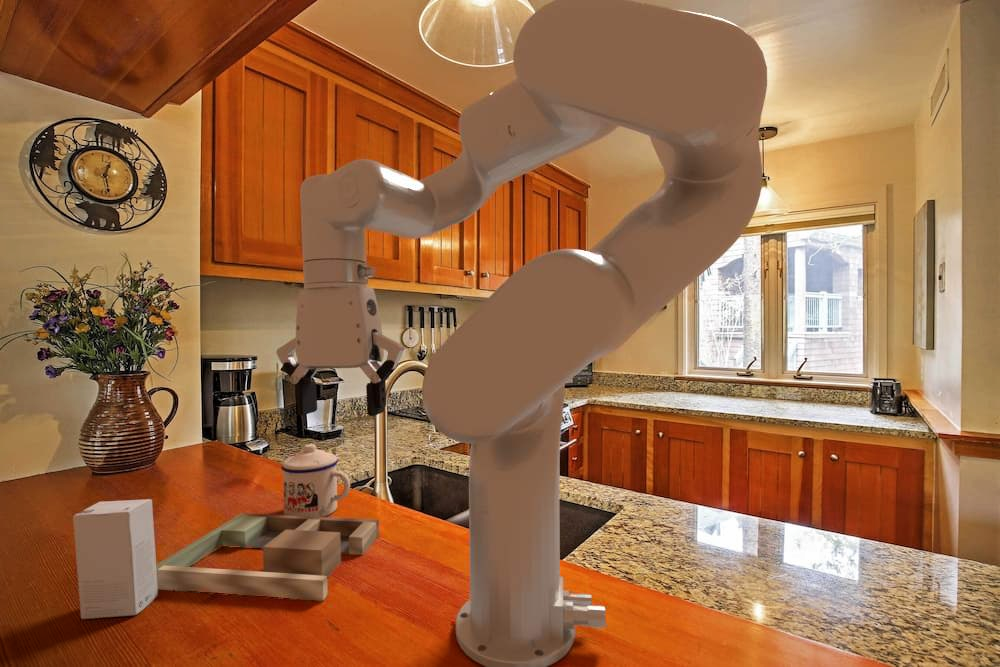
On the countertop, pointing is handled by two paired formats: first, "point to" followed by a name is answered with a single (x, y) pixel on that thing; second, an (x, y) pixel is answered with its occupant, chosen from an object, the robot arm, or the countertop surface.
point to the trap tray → (256, 535)
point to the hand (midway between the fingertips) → (341, 413)
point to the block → (303, 553)
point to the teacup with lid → (312, 483)
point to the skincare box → (115, 558)
